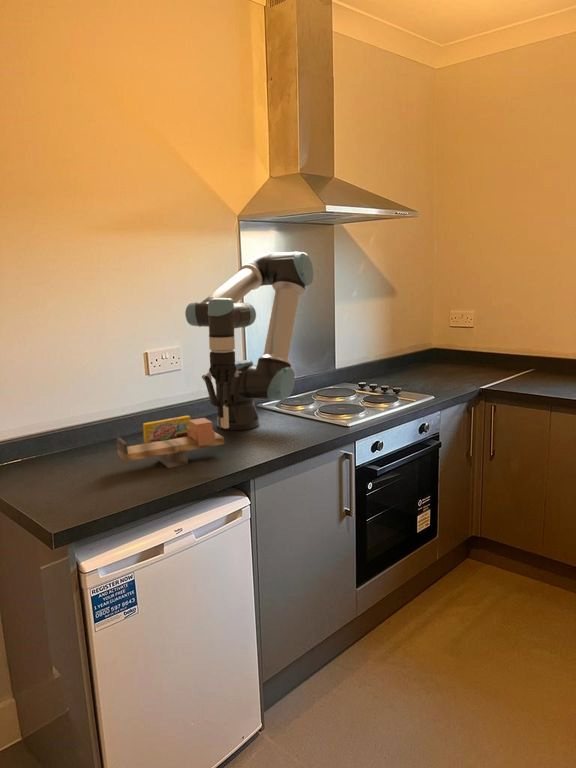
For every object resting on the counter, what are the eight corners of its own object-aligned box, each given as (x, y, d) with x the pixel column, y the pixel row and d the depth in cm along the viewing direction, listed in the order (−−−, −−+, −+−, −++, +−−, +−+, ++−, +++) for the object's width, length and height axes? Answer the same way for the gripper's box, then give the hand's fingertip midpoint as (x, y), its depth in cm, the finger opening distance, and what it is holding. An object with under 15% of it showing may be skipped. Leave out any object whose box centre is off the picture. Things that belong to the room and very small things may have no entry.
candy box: (146, 449, 187) (144, 424, 186) (143, 448, 189) (141, 423, 187) (192, 440, 197) (190, 415, 195) (188, 438, 199) (187, 414, 197)
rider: (203, 436, 183) (202, 416, 182) (214, 443, 175) (214, 423, 174) (187, 438, 180) (186, 419, 179) (199, 446, 173) (198, 425, 172)
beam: (215, 450, 185) (213, 422, 183) (225, 457, 178) (224, 428, 177) (118, 467, 170) (116, 437, 169) (126, 476, 164) (123, 444, 162)
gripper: (236, 347, 183) (238, 421, 187) (196, 351, 177) (200, 427, 181) (247, 350, 177) (249, 426, 181) (206, 353, 170) (209, 433, 175)
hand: (224, 427), depth 181 cm, fingers closed
